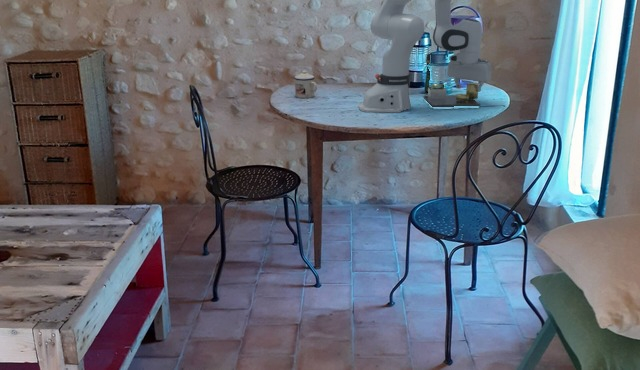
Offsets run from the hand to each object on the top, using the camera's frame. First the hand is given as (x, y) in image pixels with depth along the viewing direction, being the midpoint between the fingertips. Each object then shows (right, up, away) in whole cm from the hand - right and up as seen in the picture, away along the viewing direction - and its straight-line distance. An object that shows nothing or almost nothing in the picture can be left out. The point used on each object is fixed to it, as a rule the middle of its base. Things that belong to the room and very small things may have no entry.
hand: (468, 89), depth 283 cm
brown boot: (-1, -4, -2) cm, 4 cm away
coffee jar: (-10, +2, +23) cm, 25 cm away
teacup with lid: (-70, -1, +16) cm, 72 cm away
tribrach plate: (-8, -6, -1) cm, 10 cm away
